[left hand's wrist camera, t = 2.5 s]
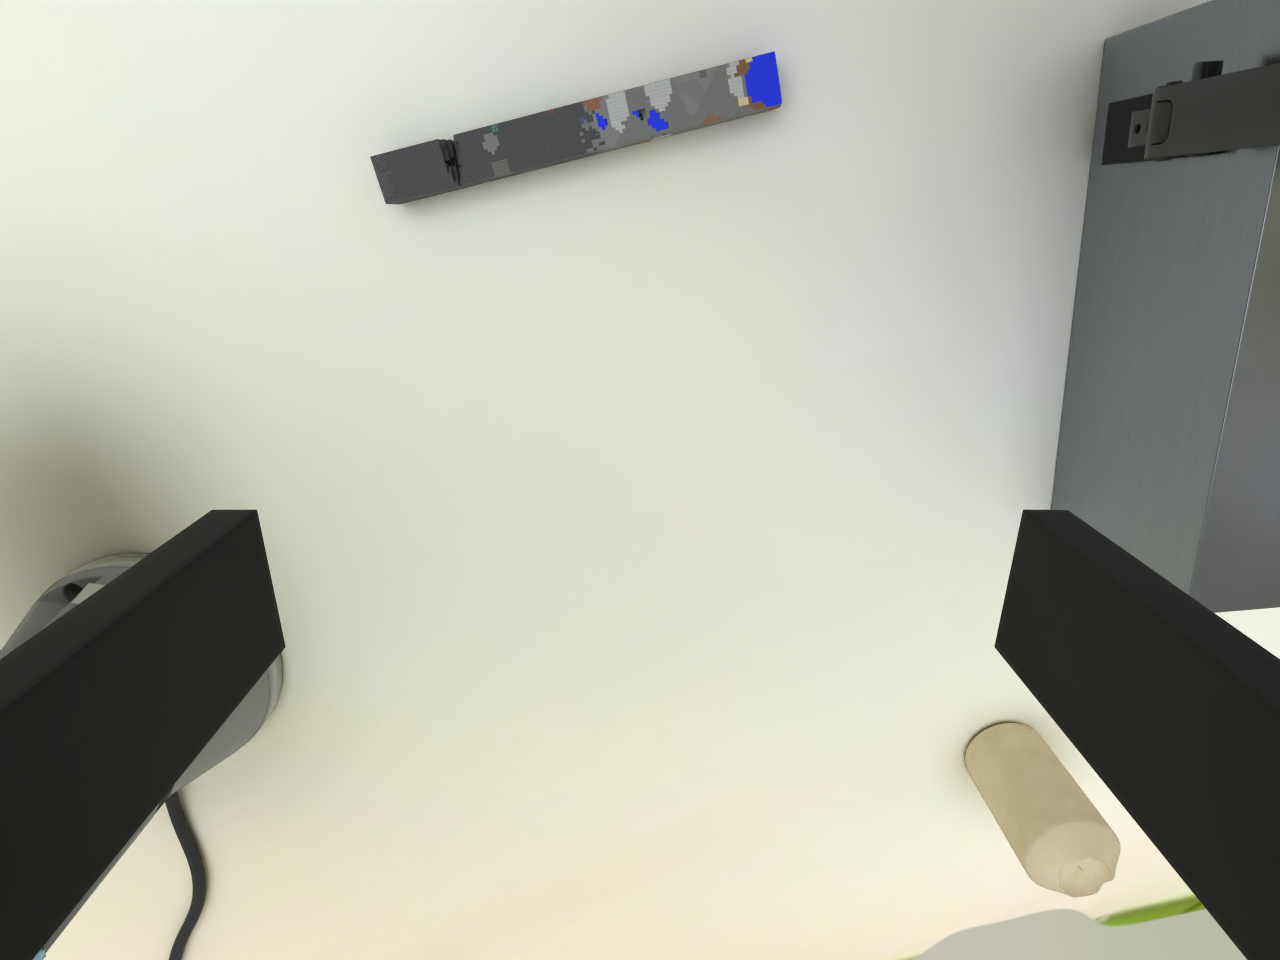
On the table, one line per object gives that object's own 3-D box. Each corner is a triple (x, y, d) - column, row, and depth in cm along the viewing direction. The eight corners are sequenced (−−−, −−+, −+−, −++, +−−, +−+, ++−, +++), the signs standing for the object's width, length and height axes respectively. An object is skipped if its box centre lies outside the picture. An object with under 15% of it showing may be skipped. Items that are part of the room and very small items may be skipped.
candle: (969, 722, 49) (1047, 843, 40) (1050, 720, 49) (1147, 841, 40) (958, 784, 51) (1030, 914, 42) (1035, 783, 51) (1125, 913, 41)
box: (1180, 503, 43) (1359, 600, 33) (1050, 514, 44) (1184, 615, 33) (1269, 20, 34) (1558, -66, 24) (1104, 38, 35) (1315, -38, 24)
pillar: (370, 156, 34) (781, 49, 33) (385, 159, 36) (773, 58, 35) (385, 203, 35) (789, 101, 33) (400, 204, 37) (780, 107, 35)
